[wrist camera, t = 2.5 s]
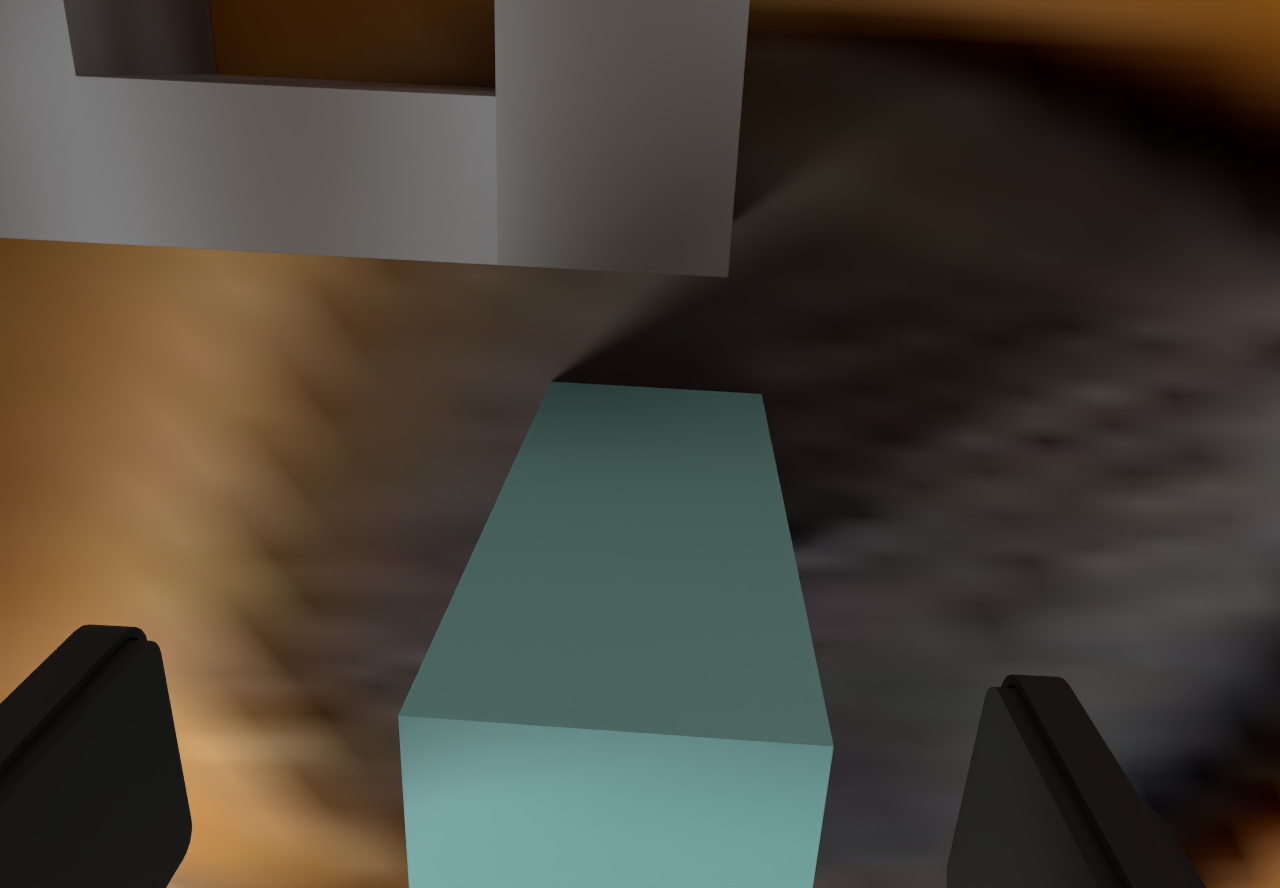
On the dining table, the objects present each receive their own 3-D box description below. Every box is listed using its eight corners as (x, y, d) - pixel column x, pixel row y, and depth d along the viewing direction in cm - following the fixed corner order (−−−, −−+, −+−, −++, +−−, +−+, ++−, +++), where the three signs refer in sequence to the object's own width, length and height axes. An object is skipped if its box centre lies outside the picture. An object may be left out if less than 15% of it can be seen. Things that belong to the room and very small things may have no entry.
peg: (761, 394, 18) (833, 746, 9) (743, 578, 19) (788, 1049, 10) (550, 381, 18) (398, 715, 9) (549, 566, 20) (416, 1019, 10)
